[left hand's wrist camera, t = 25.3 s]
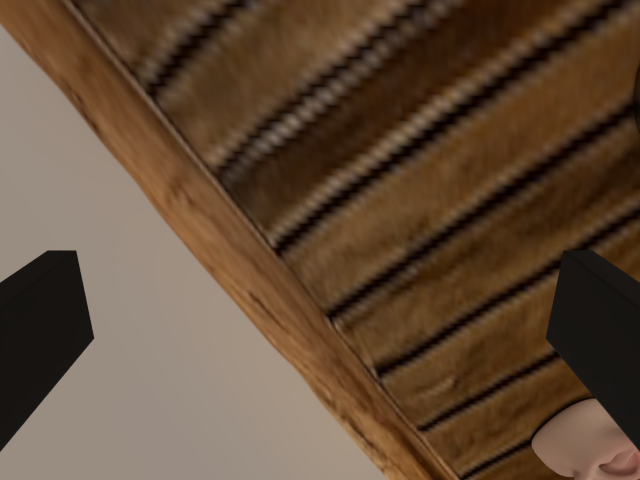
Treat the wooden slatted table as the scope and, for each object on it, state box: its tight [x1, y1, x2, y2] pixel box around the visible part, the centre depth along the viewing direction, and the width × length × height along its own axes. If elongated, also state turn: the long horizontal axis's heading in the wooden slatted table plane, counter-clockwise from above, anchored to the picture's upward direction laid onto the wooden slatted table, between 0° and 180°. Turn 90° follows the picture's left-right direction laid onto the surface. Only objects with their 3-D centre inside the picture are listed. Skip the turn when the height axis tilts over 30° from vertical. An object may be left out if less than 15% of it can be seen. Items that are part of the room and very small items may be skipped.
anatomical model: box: [532, 399, 640, 480], centre depth 47 cm, size 13×4×12 cm
